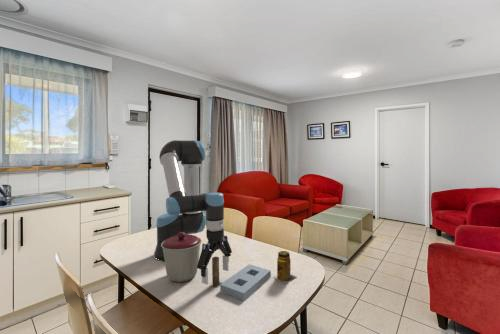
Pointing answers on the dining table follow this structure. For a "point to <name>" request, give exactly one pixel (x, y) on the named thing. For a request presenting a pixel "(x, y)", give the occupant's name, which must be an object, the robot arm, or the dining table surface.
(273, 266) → the dining table surface
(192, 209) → the robot arm
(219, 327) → the dining table surface
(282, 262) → the condiment
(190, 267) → the canister
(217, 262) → the peg
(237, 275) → the hole block
